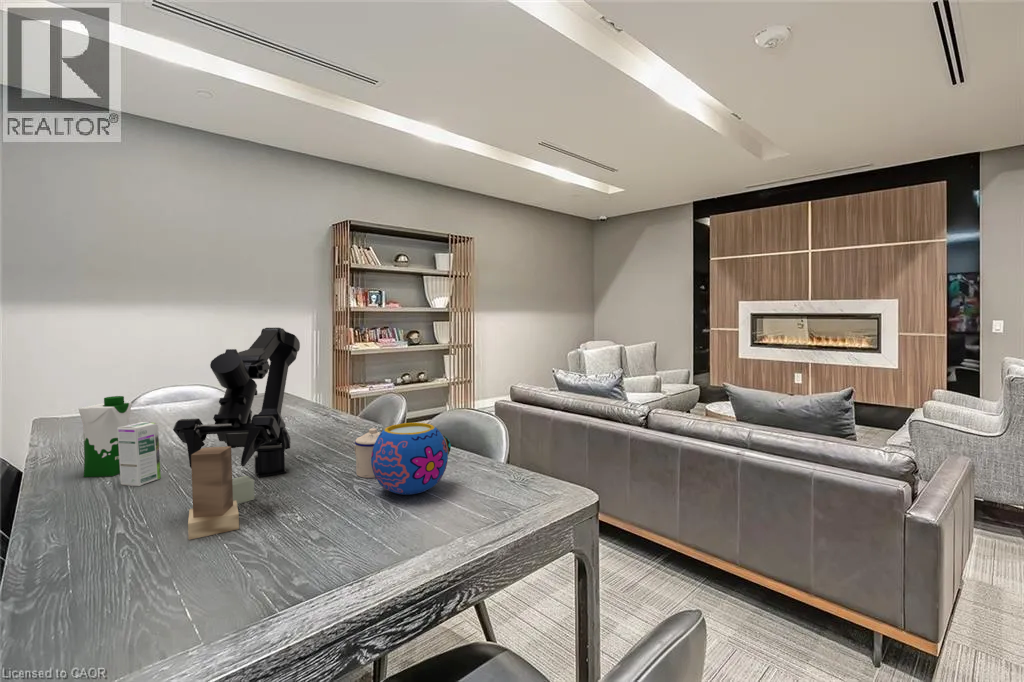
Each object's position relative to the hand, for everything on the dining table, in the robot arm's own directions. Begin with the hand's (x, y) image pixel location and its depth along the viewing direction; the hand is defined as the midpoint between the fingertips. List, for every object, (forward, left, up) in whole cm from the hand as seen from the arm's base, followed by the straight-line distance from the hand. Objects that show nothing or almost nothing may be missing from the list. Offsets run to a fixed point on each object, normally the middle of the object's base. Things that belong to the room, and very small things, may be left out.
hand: (217, 466), depth 93 cm
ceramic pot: (-38, +5, -11) cm, 40 cm away
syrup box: (+16, -38, -11) cm, 43 cm away
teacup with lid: (-34, -14, -11) cm, 39 cm away
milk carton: (+24, -52, -11) cm, 58 cm away
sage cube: (-4, -11, -11) cm, 16 cm away
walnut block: (+1, +2, -8) cm, 8 cm away
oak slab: (+1, +2, -11) cm, 11 cm away
